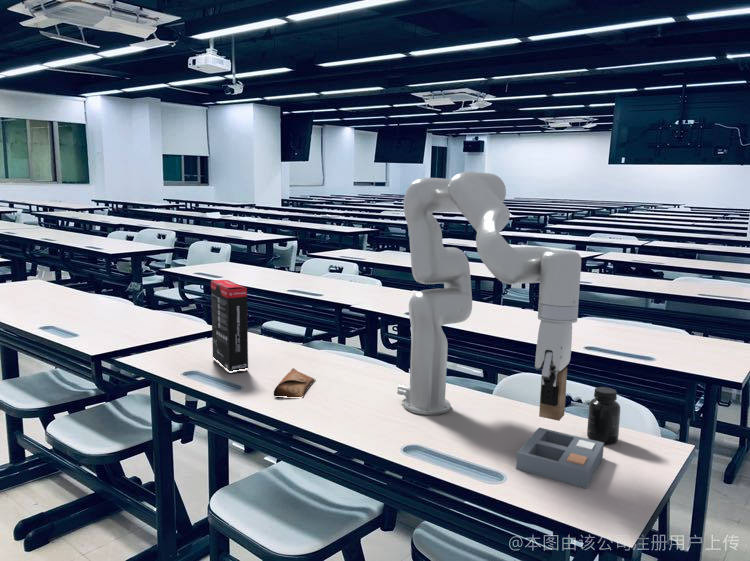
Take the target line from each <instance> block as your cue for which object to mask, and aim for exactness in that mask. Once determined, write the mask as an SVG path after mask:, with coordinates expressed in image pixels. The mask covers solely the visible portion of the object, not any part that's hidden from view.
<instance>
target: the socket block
mask: <svg viewBox="0 0 750 561" xmlns="http://www.w3.org/2000/svg"><path fill="white" fill-rule="evenodd" d="M604 446H605V444H604V443H603V442H599V441H595V440H590V439H589V438H586V437H581V436H577V435H573V434H568V433H564V432H561V431H560V432H559V431H556V430H552V429H547V428H544V427H538V428H537V429H536V430H535V431H534V433H533V434H532V435H531V436H530V437H529V438H528V440H527V441H526V442H525V443H524V444H523V445H522V446H521V447H520V449H519V450H518V451H517V452H516V460H515V461H516V463H515V470H518V471H519V470H520V471H523V472H526V473H530V474H534V475H537V476H541V477H544V478H548V479H551V480H553V481H554V480H555V481H557V482H561V483H565V484H568V485H572V486H575V487H580V488H583V489H588V487H589V486H590V484H591V482H592V480H593V478H594V476H595V473H596V472H597V470H598V468H599V466H600V464H601V462H602V460H603V456H604V448H605V447H604Z"/></svg>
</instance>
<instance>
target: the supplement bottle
mask: <svg viewBox="0 0 750 561" xmlns="http://www.w3.org/2000/svg"><path fill="white" fill-rule="evenodd" d="M617 393H618V392H617V390H616V389H613V388H610V387H605V386H599V387H595V388H594V393H593V397H594V398H592V399H591V400H590V401H589V403H588V404H589V405H588V413H587V414H588V415H587V429H586V431H587V432H586V436H587V439H590V440H595V441H599V442H603V443H604V446H605V445H606V446H607V445H608V446H609V445H610V446H611V445H614V444H616V443H617V442H618V441H619V434H620V421H621V406H620V404H619V402H617V399H618V397H617V396H618V394H617Z"/></svg>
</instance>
